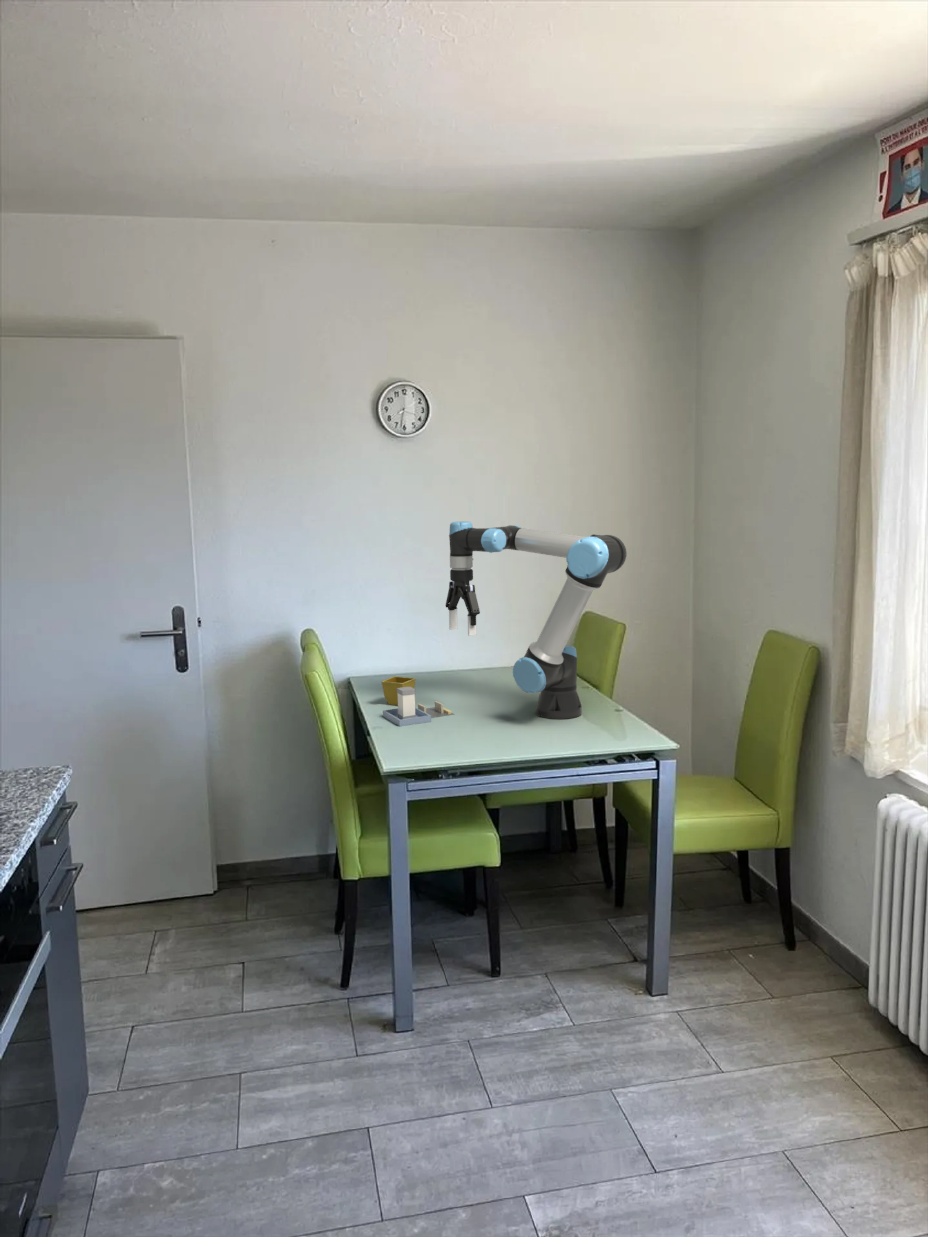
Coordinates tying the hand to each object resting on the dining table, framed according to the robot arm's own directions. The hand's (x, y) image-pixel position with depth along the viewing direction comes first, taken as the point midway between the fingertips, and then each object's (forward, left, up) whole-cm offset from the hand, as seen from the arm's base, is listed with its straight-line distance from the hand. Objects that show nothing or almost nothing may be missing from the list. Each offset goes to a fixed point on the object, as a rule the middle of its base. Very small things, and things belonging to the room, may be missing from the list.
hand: (462, 632), depth 303 cm
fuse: (-2, +22, -26) cm, 34 cm away
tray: (-2, +22, -27) cm, 35 cm away
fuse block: (+1, +11, -27) cm, 29 cm away
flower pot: (+18, +16, -27) cm, 36 cm away
